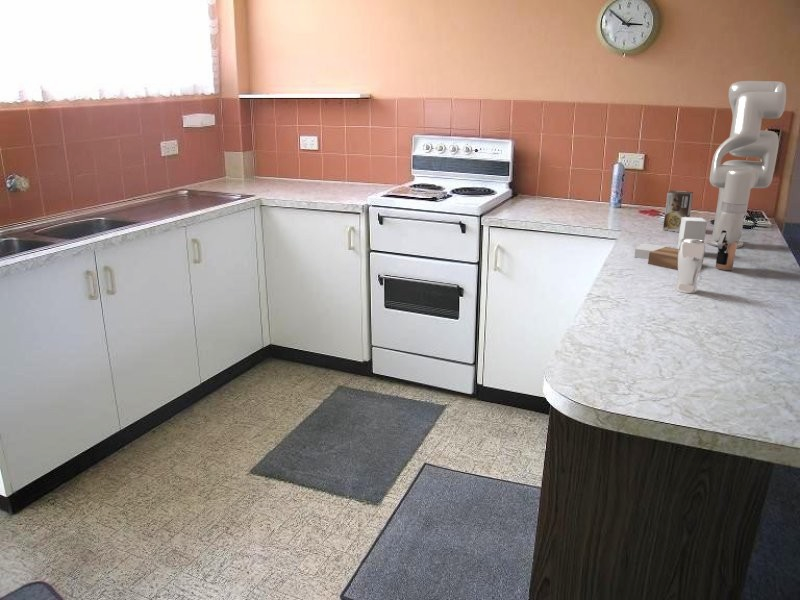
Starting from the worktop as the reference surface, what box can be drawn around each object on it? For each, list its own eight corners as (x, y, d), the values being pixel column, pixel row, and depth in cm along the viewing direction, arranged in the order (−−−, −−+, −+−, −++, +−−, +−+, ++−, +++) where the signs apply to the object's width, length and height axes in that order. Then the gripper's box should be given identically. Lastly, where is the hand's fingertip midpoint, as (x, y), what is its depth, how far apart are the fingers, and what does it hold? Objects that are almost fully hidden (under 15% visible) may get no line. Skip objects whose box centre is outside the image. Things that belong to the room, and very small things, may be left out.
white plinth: (640, 251, 242) (641, 243, 241) (669, 255, 237) (670, 246, 236) (634, 257, 234) (635, 248, 233) (664, 261, 229) (665, 252, 228)
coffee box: (688, 230, 277) (694, 191, 272) (685, 233, 272) (691, 193, 267) (665, 227, 282) (670, 189, 277) (662, 230, 276) (667, 191, 271)
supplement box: (702, 256, 236) (707, 221, 232) (680, 255, 237) (685, 220, 233) (697, 251, 243) (703, 217, 239) (676, 250, 244) (681, 216, 240)
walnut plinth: (664, 257, 234) (665, 246, 232) (698, 264, 225) (700, 253, 224) (647, 263, 226) (649, 252, 224) (682, 271, 217) (684, 259, 216)
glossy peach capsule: (719, 264, 224) (723, 238, 221) (735, 267, 221) (739, 241, 218) (712, 267, 221) (717, 241, 218) (728, 270, 217) (733, 244, 214)
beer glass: (697, 288, 200) (705, 239, 195) (699, 294, 193) (707, 244, 189) (672, 285, 202) (679, 237, 197) (673, 292, 195) (680, 242, 191)
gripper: (732, 203, 222) (723, 255, 228) (711, 209, 211) (702, 265, 217) (756, 206, 217) (746, 260, 223) (735, 213, 206) (725, 269, 212)
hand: (724, 261), depth 220 cm, fingers closed on glossy peach capsule, 5 cm apart
